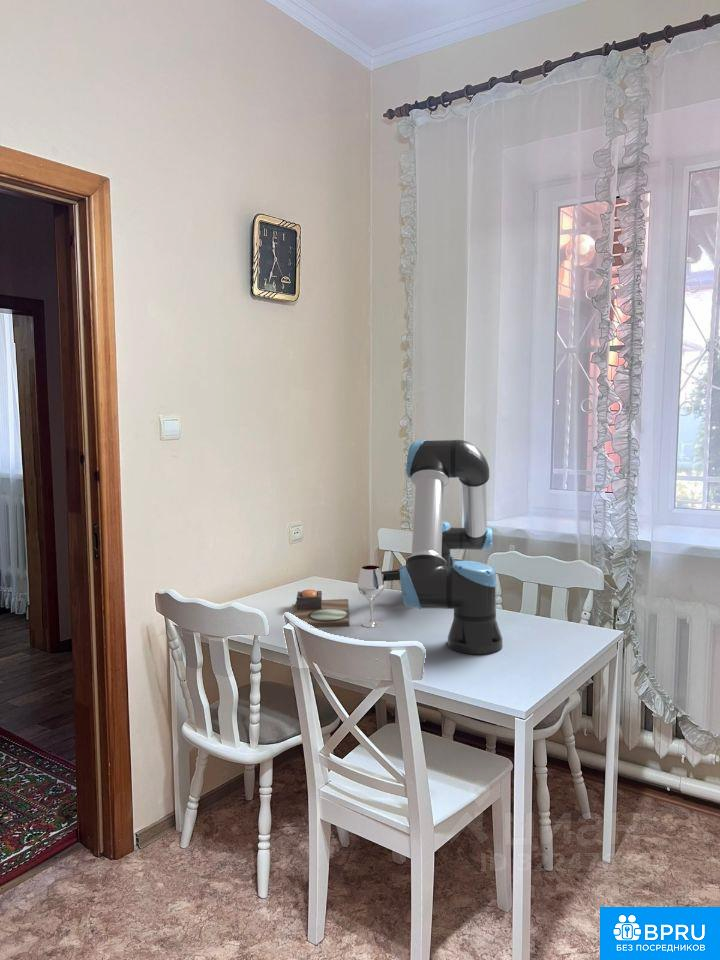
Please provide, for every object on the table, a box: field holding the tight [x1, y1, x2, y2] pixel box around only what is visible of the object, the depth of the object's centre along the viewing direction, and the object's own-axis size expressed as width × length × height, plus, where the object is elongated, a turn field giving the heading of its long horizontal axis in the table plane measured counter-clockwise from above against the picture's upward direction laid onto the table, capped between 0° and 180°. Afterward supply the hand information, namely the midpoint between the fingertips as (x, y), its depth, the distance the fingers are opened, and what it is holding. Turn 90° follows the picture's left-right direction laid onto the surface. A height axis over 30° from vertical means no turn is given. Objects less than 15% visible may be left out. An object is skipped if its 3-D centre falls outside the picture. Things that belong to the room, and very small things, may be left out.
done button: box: [301, 589, 318, 597], centre depth 239 cm, size 5×5×3 cm
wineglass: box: [357, 564, 385, 629], centre depth 221 cm, size 8×8×18 cm
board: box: [292, 590, 350, 628], centre depth 233 cm, size 26×18×5 cm
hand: (387, 585), depth 228 cm, fingers open, 13 cm apart
